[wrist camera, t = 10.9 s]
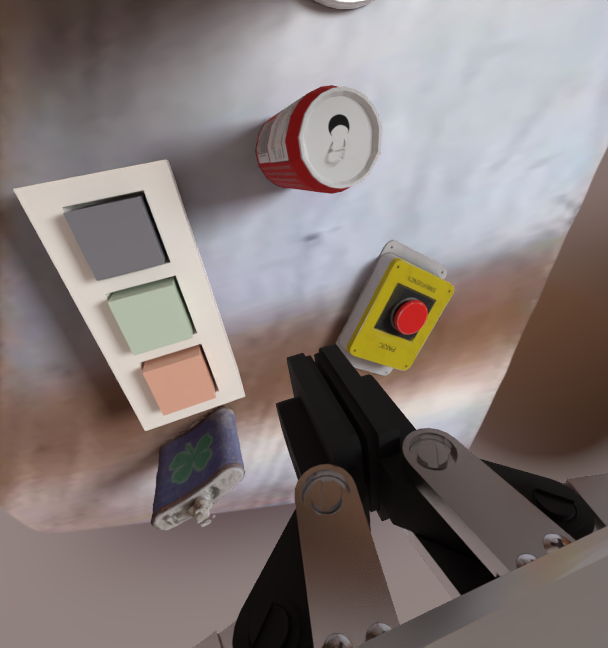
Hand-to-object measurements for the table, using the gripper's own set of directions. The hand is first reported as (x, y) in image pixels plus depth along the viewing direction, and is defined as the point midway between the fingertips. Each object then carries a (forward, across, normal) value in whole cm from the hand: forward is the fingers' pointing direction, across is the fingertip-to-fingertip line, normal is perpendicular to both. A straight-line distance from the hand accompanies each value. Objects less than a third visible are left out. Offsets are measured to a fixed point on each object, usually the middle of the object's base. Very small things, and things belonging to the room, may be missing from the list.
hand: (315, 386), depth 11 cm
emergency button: (+23, -15, +12) cm, 30 cm away
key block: (+22, +8, +3) cm, 23 cm away
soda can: (+23, -6, -6) cm, 24 cm away
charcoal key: (+20, +8, -3) cm, 21 cm away
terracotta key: (+19, +8, +9) cm, 23 cm away
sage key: (+19, +8, +3) cm, 21 cm away
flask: (+21, +9, +19) cm, 30 cm away
